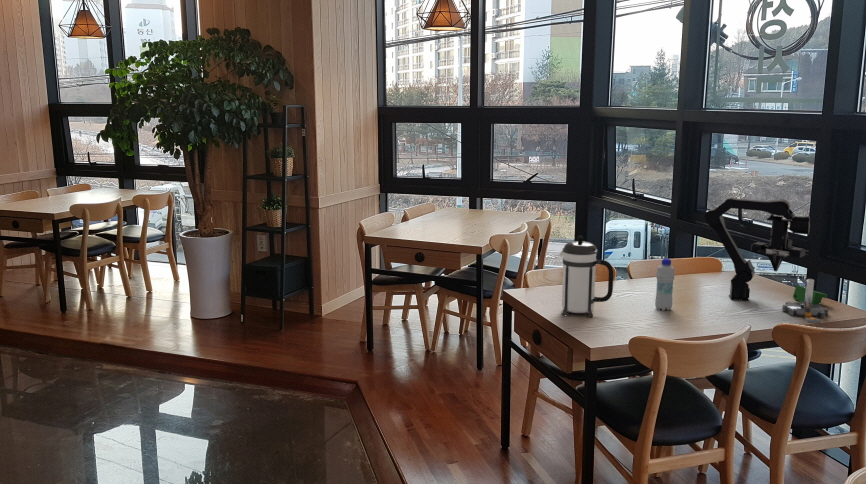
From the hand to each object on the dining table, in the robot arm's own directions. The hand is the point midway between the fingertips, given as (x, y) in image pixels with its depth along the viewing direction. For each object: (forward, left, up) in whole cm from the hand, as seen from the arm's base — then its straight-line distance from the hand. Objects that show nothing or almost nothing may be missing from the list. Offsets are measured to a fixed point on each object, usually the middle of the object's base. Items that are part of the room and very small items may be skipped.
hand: (775, 271), depth 280 cm
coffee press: (-74, -28, -13) cm, 80 cm away
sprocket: (+8, -12, -13) cm, 20 cm away
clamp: (+14, +4, -13) cm, 20 cm away
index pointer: (+8, -22, -13) cm, 27 cm away
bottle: (-43, -17, -13) cm, 48 cm away
